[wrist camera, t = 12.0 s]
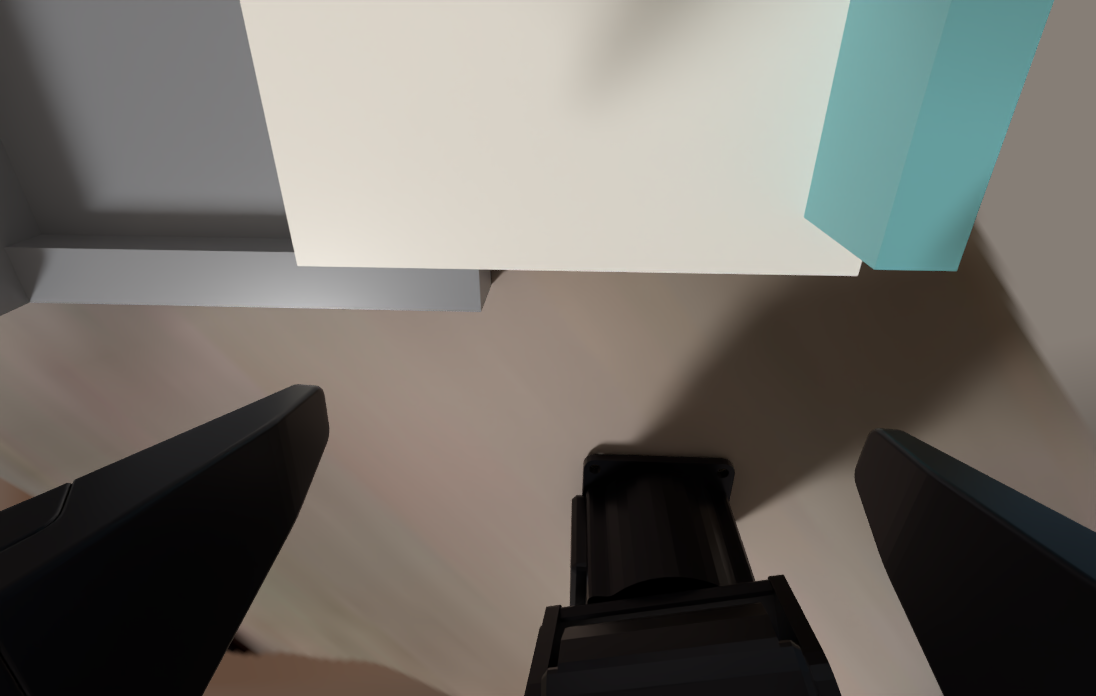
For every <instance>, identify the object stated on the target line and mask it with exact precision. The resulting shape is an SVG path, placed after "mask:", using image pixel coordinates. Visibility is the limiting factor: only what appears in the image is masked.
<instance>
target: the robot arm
mask: <svg viewBox="0 0 1096 696" xmlns="http://www.w3.org/2000/svg"><path fill="white" fill-rule="evenodd" d="M328 438H329V422H328V415H327V408H326V402H325V395H324V392H323V390H322V388H320V387H319V386H314V385H301V384H297V385H293V386H290V387H288V388H286V389H283V390H281V391H279V392H277V393H274V394H272V395H270V396H267V397H265V398H263V399H260V400H258V401H256V402H253V403H251V404H249V405H246V406H244V407H242V408H240V409H237V410H235V411H233V412H230V413H228V414H226V415H223V416H221V417H219V418H216V419H214V420H212V421H209V422H207V423H205V424H203V425H200V426H198V427H196V428H193V429H191V430H189V431H186V432H184V433H182V434H179V435H177V436H175V437H172V438H170V439H168V440H166V441H163V442H161V443H159V444H156V445H154V446H152V447H149V448H147V449H145V450H142V451H140V452H138V453H135V454H133V455H131V456H129V457H126V458H124V459H122V460H119V461H117V462H115V463H112V464H110V465H108V466H105V467H103V468H101V469H98V470H96V471H94V472H91V473H89V474H87V475H85V476H82V477H80V478H78V479H75V480H74V481H73V483H72V484H71V483H66V484H63V485H61V486H59V487H56V488H54V489H52V490H50V491H47V492H45V493H43V494H40V495H38V496H36V497H33V498H31V499H29V500H26V501H24V502H21V503H19V504H17V505H14V506H12V507H9V508H7V509H5V510H2V511H0V696H202V695H203V694H204V692H205V689H206V688H207V686H208V684H209V682H210V680H211V678H212V677H213V675H214V673H215V671H216V669H217V667H218V666H219V664H220V662H221V660H222V658H223V656H224V654H225V652H226V651H227V649H228V647H229V645H230V643H231V641H232V639H233V638H234V636H235V634H236V632H237V630H238V628H239V626H240V624H241V623H242V621H243V619H244V617H245V615H246V613H247V611H248V610H249V608H250V606H251V604H252V602H253V600H254V598H255V596H256V595H257V593H258V591H259V589H260V587H261V585H262V583H263V582H264V580H265V578H266V576H267V574H268V572H269V570H270V568H271V567H272V565H273V563H274V561H275V559H276V557H277V555H278V554H279V552H280V550H281V548H282V546H283V544H284V542H285V540H286V539H287V537H288V535H289V533H290V531H291V529H292V527H293V525H294V523H295V521H296V519H297V517H298V515H299V512H300V510H301V508H302V505H303V503H304V500H305V498H306V495H307V492H308V490H309V487H310V485H311V482H312V480H313V477H314V475H315V472H316V470H317V467H318V465H319V462H320V459H321V457H322V454H323V452H324V449H325V447H326V444H327V441H328ZM592 465H599V467H597V468H593V467H591V466H592ZM720 469H726V470H724V471H722V472H718V471H719V470H720ZM734 474H735V471H734V468H733V465H732V463H731V462H730V461H729V460H728V459H724V458H700V457H668V456H636V455H604V454H593V455H589V456H587V457H586V458H585V460H584V464H583V489H582V495H576V496H575V497H574V498H573V499H572V516H571V563H570V606H568V607H562V606H561V605H555V606H548V607H546V610H545V615H544V619H543V623H542V626H540V629H539V634H538V638H537V642H536V647H535V651H534V655H533V660H532V664H531V668H530V673H529V677H528V681H527V686H526V690H525V695H524V696H841V693H840V690H839V688H838V685H837V682H836V679H835V677H834V674H833V672H832V669H831V667H830V665H829V662H828V660H827V658H826V656H825V654H824V652H823V650H822V648H821V646H820V644H819V642H818V640H817V638H816V636H815V634H814V632H813V630H812V628H811V626H810V625H809V623H808V621H807V619H806V617H805V615H804V613H803V611H802V609H801V607H800V605H799V603H798V601H797V600H796V598H795V596H794V594H793V592H792V590H791V588H790V586H789V584H788V582H787V580H786V578H785V576H784V575H776V576H769V577H768V580H761V581H755V579H754V576H753V573H752V570H751V567H750V564H749V561H748V558H747V555H746V552H745V549H744V546H743V543H742V540H741V537H740V534H739V531H738V528H737V525H736V522H735V519H734V516H733V513H732V510H731V507H730V504H729V499H730V494H731V489H732V484H733V479H734ZM855 483H856V486H857V489H858V492H859V495H860V498H861V501H862V504H863V507H864V510H865V513H866V516H867V519H868V522H869V525H870V528H871V530H872V533H873V536H874V539H875V542H876V545H877V548H878V551H879V554H880V557H881V559H882V562H883V564H884V567H885V569H886V572H887V574H888V576H889V579H890V581H891V583H892V585H893V587H894V590H895V592H896V594H897V596H898V598H899V600H900V603H901V605H902V607H903V609H904V611H905V613H906V615H907V618H908V620H909V622H910V624H911V626H912V628H913V631H914V633H915V635H916V637H917V639H918V641H919V643H920V646H921V648H922V650H923V652H924V654H925V656H926V659H927V661H928V663H929V665H930V667H931V669H932V671H933V674H934V676H935V678H936V680H937V682H938V684H939V687H940V689H941V691H942V693H943V695H944V696H1096V532H1094V531H1092V530H1090V529H1088V528H1086V527H1084V526H1083V525H1081V524H1079V523H1077V522H1075V521H1073V520H1071V519H1069V518H1067V517H1065V516H1064V515H1062V514H1060V513H1058V512H1056V511H1054V510H1052V509H1050V508H1048V507H1046V506H1045V505H1043V504H1041V503H1039V502H1037V501H1035V500H1033V499H1031V498H1029V497H1027V496H1026V495H1024V494H1022V493H1020V492H1018V491H1016V490H1014V489H1012V488H1010V487H1008V486H1007V485H1005V484H1003V483H1001V482H999V481H997V480H995V479H993V478H991V477H989V476H988V475H986V474H984V473H982V472H980V471H978V470H976V469H974V468H972V467H970V466H969V465H967V464H965V463H963V462H961V461H959V460H957V459H955V458H953V457H951V456H949V455H948V454H946V453H944V452H942V451H940V450H938V449H936V448H934V447H932V446H930V445H929V444H927V443H925V442H923V441H921V440H919V439H917V438H915V437H913V436H911V435H910V434H908V433H906V432H904V431H901V430H895V429H881V428H877V429H874V430H872V431H871V432H870V433H869V435H868V437H867V439H866V442H865V445H864V447H863V450H862V452H861V455H860V457H859V460H858V462H857V465H856V468H855Z"/></svg>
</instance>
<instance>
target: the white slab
mask: <svg viewBox="0 0 1096 696" xmlns="http://www.w3.org/2000/svg"><path fill="white" fill-rule="evenodd" d="M1053 2H1054V0H240V4H241V9H242V13H243V18H244V23H245V27H246V32H247V36H248V41H249V46H250V50H251V55H252V59H253V64H254V69H255V73H256V78H257V82H258V87H259V92H260V96H261V101H262V105H263V110H264V115H265V119H266V124H267V128H268V133H269V138H270V142H271V147H272V151H273V156H274V161H275V165H276V170H277V174H278V179H279V184H280V188H281V193H282V198H283V202H284V207H285V211H286V216H287V221H288V225H289V230H290V234H291V239H292V244H293V248H294V253H295V257H296V262H297V266H319V267H376V268H432V269H488V270H544V271H601V272H657V273H713V274H769V275H826V276H858V274H859V270H860V267H861V263H862V261H863V262H865V263H866V264H867V265H869V266H870V267H871V268H873V269H874V270H920V271H957V269H958V266H959V263H960V261H961V258H962V255H963V252H964V249H965V247H966V244H967V241H968V238H969V236H970V233H971V230H972V227H973V224H974V222H975V219H976V216H977V213H978V210H979V208H980V205H981V202H982V199H983V196H984V194H985V191H986V188H987V185H988V182H989V180H990V177H991V174H992V171H993V169H994V166H995V163H996V160H997V158H998V155H999V152H1000V149H1001V147H1002V144H1003V141H1004V138H1005V135H1006V132H1007V130H1008V127H1009V124H1010V121H1011V119H1012V116H1013V113H1014V110H1015V107H1016V105H1017V102H1018V99H1019V96H1020V94H1021V91H1022V88H1023V85H1024V82H1025V80H1026V77H1027V74H1028V71H1029V68H1030V66H1031V63H1032V60H1033V57H1034V55H1035V52H1036V49H1037V46H1038V43H1039V40H1040V38H1041V35H1042V32H1043V29H1044V27H1045V24H1046V21H1047V18H1048V16H1049V13H1050V10H1051V7H1052V5H1053Z"/></svg>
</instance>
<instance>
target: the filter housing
mask: <svg viewBox="0 0 1096 696" xmlns="http://www.w3.org/2000/svg"><path fill="white" fill-rule="evenodd" d="M490 287H491V270H488V269H432V268H376V267H319V266H297V262H296V257H295V253H294V248H293V244H292V239H291V234H290V230H289V225H288V221H287V216H286V211H285V207H284V202H283V198H282V193H281V188H280V184H279V179H278V174H277V170H276V165H275V161H274V156H273V151H272V147H271V142H270V138H269V133H268V128H267V124H266V119H265V115H264V110H263V105H262V101H261V96H260V92H259V87H258V82H257V78H256V73H255V69H254V64H253V59H252V55H251V50H250V46H249V41H248V36H247V32H246V27H245V23H244V18H243V13H242V9H241V4H240V0H0V316H1V315H3V314H5V313H7V312H10V311H12V310H14V309H16V308H18V307H21V306H23V305H25V304H27V303H29V302H34V303H82V304H129V305H177V306H225V307H273V308H320V309H368V310H416V311H464V312H481V311H482V308H483V306H484V303H485V300H486V298H487V295H488V292H489V290H490Z"/></svg>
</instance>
